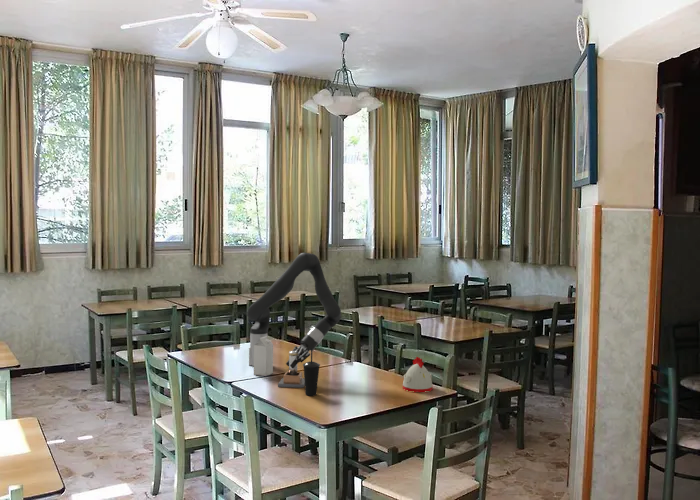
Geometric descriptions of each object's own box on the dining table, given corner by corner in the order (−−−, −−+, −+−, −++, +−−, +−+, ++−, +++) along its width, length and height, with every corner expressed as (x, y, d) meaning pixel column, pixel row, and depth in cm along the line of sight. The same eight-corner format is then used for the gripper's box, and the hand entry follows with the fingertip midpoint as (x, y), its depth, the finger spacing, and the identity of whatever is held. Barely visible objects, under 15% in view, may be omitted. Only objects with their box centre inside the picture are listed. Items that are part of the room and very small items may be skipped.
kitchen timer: (412, 394, 285) (413, 361, 285) (397, 386, 298) (397, 355, 297) (438, 391, 291) (438, 359, 291) (422, 384, 304) (422, 353, 303)
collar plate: (277, 386, 293) (278, 376, 292) (282, 380, 305) (282, 370, 304) (303, 387, 292) (303, 377, 292) (306, 381, 304) (307, 371, 304)
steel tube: (287, 377, 296) (288, 352, 296) (289, 375, 300) (289, 350, 300) (296, 377, 296) (297, 352, 295) (298, 375, 300) (298, 350, 300)
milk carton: (253, 374, 315) (254, 337, 315) (260, 371, 322) (261, 335, 321) (265, 376, 313) (266, 338, 312) (272, 373, 319) (273, 336, 319)
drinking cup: (312, 397, 275) (313, 352, 275) (298, 395, 279) (299, 350, 279) (322, 394, 282) (323, 350, 281) (309, 391, 286) (309, 347, 285)
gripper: (301, 331, 307) (278, 358, 302) (314, 336, 295) (290, 364, 289) (310, 341, 310) (288, 368, 304) (324, 346, 298) (300, 374, 292)
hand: (289, 366), depth 297 cm, fingers closed on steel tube, 4 cm apart
